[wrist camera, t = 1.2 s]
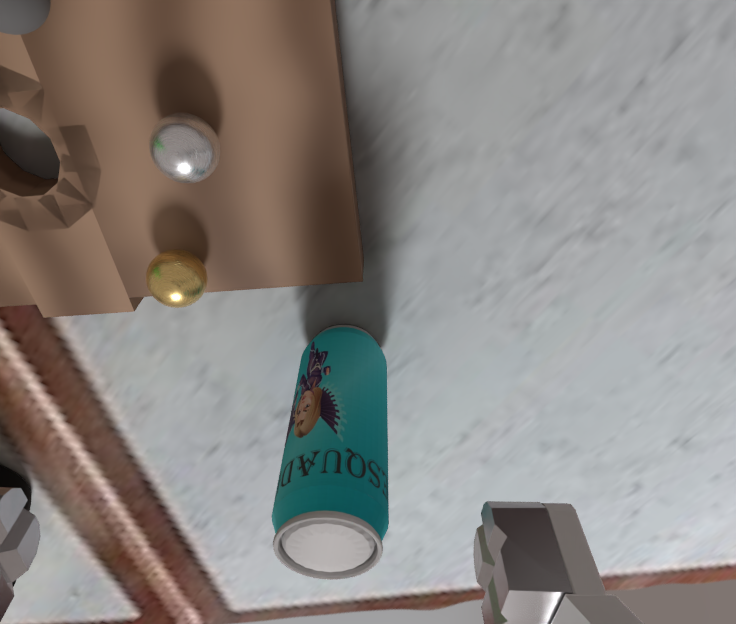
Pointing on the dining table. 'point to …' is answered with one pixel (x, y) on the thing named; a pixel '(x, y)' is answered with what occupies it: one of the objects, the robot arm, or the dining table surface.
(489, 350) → the dining table surface
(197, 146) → the steel ball
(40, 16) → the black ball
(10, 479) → the mug
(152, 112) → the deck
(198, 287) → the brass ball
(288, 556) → the beverage can
